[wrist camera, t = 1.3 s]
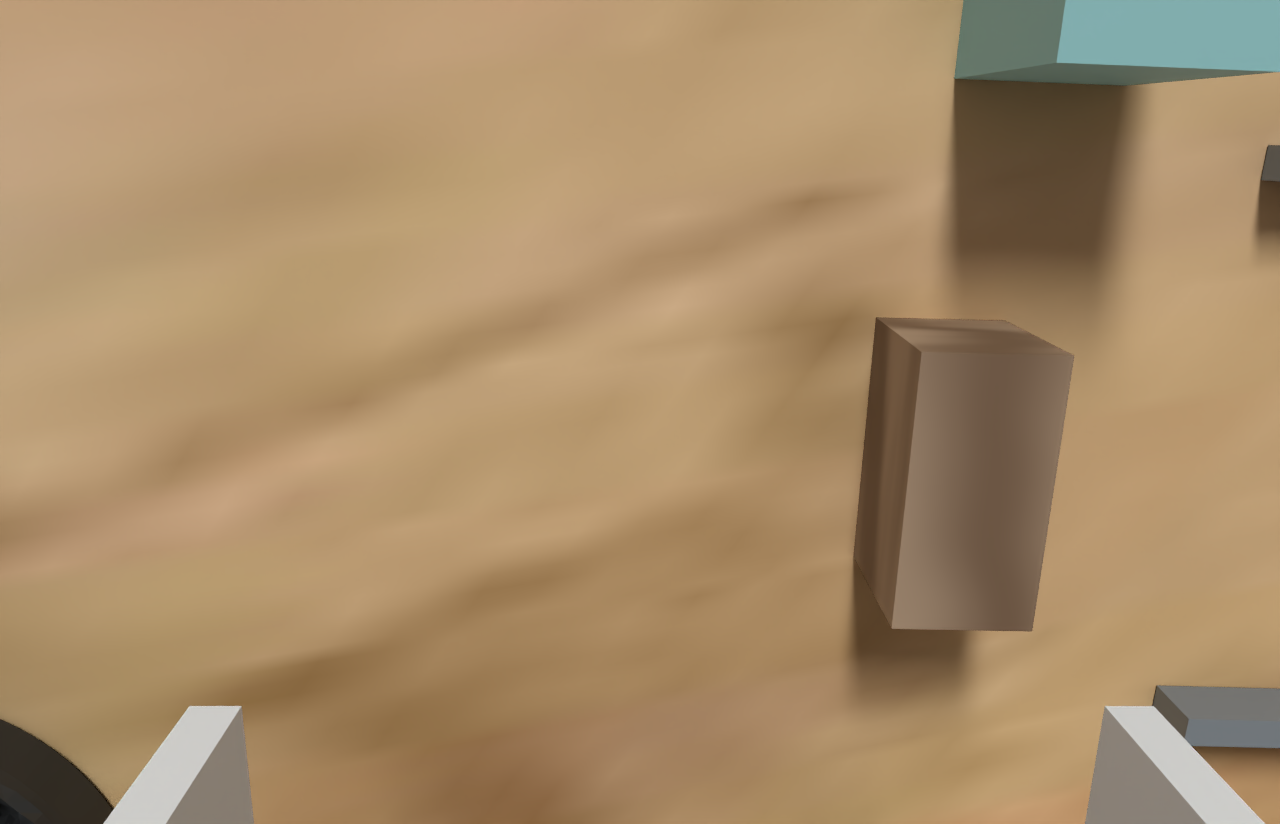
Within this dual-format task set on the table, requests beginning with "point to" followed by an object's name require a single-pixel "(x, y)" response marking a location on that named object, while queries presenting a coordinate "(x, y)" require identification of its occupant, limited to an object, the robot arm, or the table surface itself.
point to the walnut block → (959, 471)
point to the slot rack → (1225, 709)
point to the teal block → (1117, 40)
